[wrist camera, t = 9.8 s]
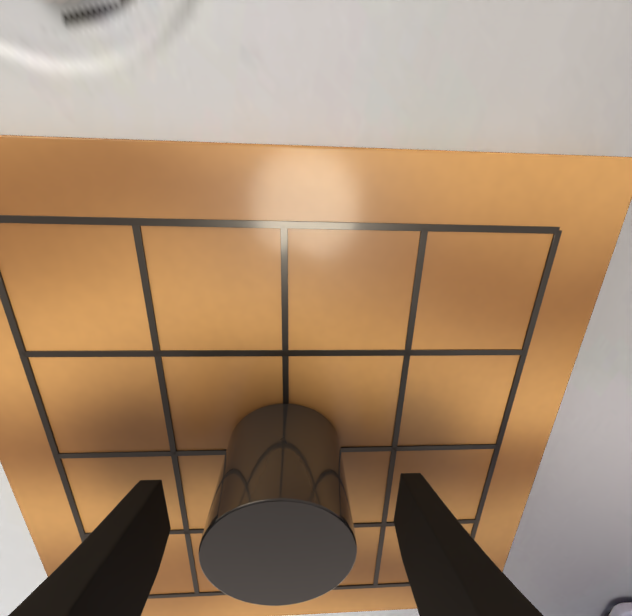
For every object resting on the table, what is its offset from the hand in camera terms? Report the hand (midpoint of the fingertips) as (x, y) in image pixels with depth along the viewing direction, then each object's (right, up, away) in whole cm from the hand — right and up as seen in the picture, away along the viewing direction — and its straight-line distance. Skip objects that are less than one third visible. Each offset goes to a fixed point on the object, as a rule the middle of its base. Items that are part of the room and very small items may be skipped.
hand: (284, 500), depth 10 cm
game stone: (0, +1, +2) cm, 2 cm away
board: (0, +1, +3) cm, 3 cm away
